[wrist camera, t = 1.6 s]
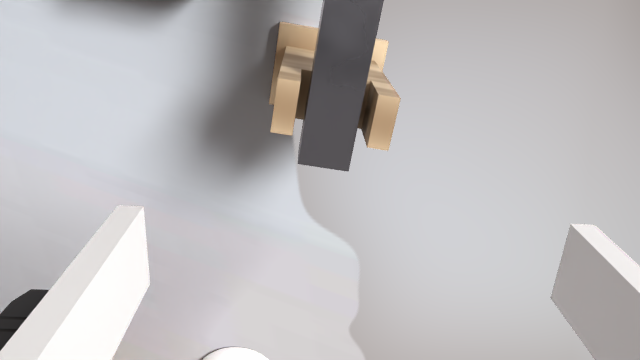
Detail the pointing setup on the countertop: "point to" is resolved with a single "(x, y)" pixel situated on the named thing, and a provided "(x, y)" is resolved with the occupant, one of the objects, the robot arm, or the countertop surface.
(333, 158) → the rail
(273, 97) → the hook stand
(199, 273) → the countertop surface
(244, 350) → the jar
